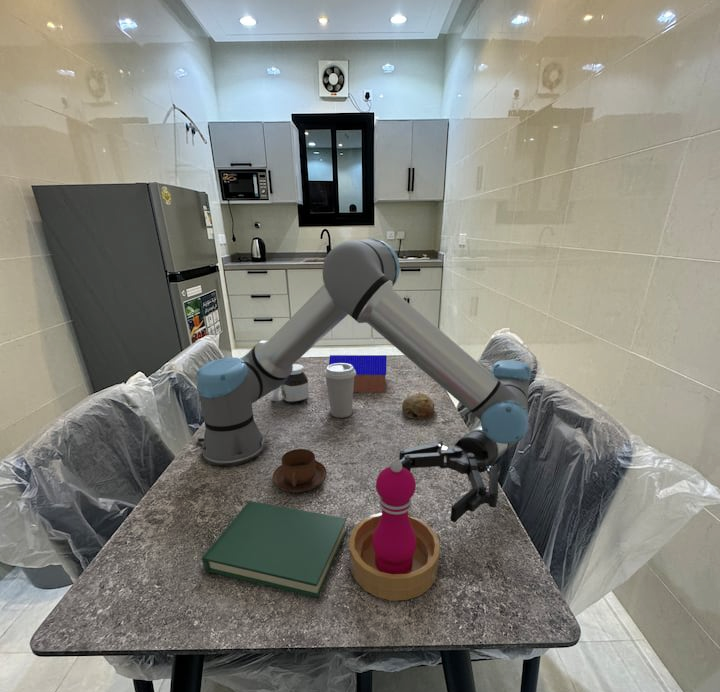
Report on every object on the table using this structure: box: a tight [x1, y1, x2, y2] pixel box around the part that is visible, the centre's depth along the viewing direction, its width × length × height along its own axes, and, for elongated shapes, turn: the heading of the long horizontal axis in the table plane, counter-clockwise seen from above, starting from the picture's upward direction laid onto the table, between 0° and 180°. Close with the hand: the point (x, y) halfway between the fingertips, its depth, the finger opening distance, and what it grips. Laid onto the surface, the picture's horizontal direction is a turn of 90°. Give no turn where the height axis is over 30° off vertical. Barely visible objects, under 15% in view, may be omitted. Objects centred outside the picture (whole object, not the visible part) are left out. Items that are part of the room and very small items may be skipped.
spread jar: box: [271, 363, 310, 405], centre depth 126 cm, size 12×11×12 cm
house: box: [328, 354, 388, 393], centre depth 137 cm, size 12×20×12 cm, turn 86°
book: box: [201, 500, 348, 599], centre depth 67 cm, size 20×15×3 cm
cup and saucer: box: [272, 448, 327, 493], centre depth 86 cm, size 12×12×6 cm
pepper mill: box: [372, 460, 417, 574], centre depth 61 cm, size 7×7×20 cm
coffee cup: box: [323, 363, 356, 419], centre depth 116 cm, size 10×10×15 cm
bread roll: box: [401, 392, 435, 420], centre depth 117 cm, size 10×10×8 cm
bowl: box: [349, 512, 441, 602], centre depth 64 cm, size 15×15×5 cm
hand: (417, 496), depth 64 cm, fingers open, 13 cm apart
